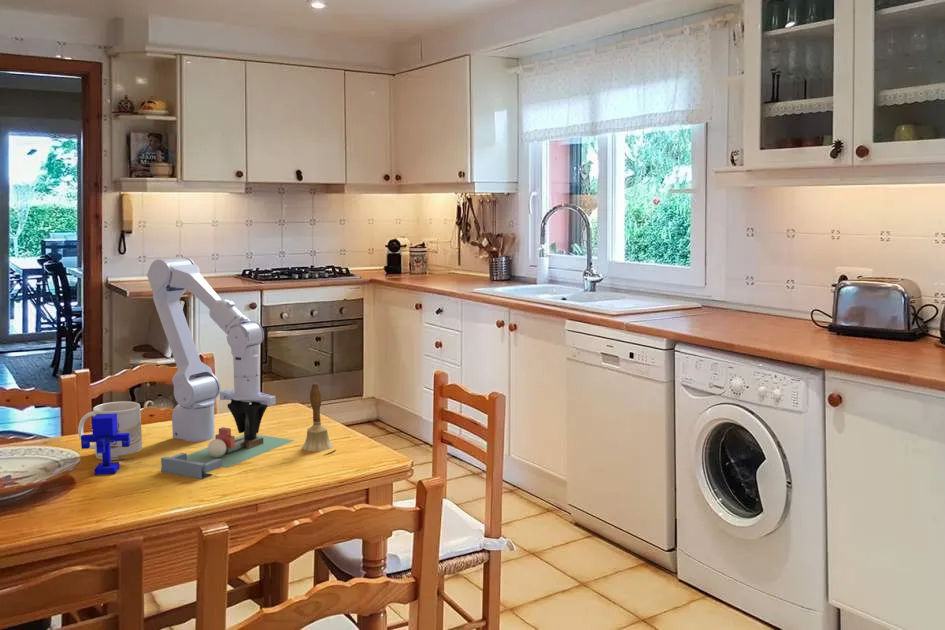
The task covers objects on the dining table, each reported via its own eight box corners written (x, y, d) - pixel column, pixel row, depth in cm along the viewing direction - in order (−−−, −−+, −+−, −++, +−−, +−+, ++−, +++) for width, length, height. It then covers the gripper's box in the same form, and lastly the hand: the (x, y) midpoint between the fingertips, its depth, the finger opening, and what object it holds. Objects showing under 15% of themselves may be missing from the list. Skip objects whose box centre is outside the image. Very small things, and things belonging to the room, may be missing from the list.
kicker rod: (215, 452, 187) (214, 420, 186) (247, 440, 197) (246, 410, 196) (231, 454, 185) (230, 422, 184) (262, 442, 195) (261, 412, 194)
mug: (110, 463, 183) (108, 414, 181) (77, 455, 189) (74, 407, 188) (151, 452, 192) (149, 404, 190) (118, 444, 198) (116, 398, 196)
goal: (161, 471, 177) (161, 458, 177) (182, 463, 183) (182, 450, 182) (201, 479, 173) (201, 465, 172) (222, 470, 178) (221, 457, 178)
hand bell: (328, 457, 188) (326, 387, 186) (293, 455, 190) (291, 386, 188) (341, 446, 196) (339, 380, 194) (307, 444, 198) (305, 378, 196)
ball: (206, 459, 185) (201, 445, 183) (218, 449, 188) (213, 434, 186) (220, 462, 183) (215, 447, 181) (232, 451, 186) (227, 436, 184)
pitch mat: (177, 462, 184) (177, 458, 183) (248, 437, 204) (247, 433, 204) (227, 471, 178) (227, 467, 178) (294, 444, 198) (294, 440, 198)
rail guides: (234, 446, 193) (233, 440, 192) (248, 441, 197) (248, 435, 197) (249, 449, 191) (248, 443, 191) (263, 443, 195) (263, 437, 195)
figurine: (133, 470, 178) (131, 415, 177) (100, 479, 172) (97, 422, 171) (113, 463, 183) (110, 409, 181) (80, 472, 177) (77, 416, 175)
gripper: (209, 375, 191) (211, 433, 193) (261, 381, 185) (262, 440, 187) (230, 369, 198) (232, 426, 199) (280, 375, 192) (282, 433, 193)
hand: (248, 432), depth 194 cm, fingers closed on kicker rod, 3 cm apart
